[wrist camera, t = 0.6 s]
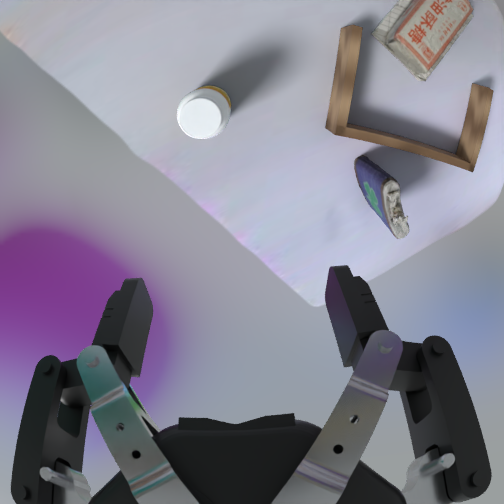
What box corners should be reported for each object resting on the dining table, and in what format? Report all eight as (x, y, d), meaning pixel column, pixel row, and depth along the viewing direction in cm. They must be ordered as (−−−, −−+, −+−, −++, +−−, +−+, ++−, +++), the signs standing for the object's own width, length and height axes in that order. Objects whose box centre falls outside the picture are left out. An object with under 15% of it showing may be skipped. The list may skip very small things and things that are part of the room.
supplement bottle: (189, 84, 30) (172, 89, 22) (233, 86, 31) (232, 92, 23) (185, 125, 33) (169, 144, 25) (228, 128, 34) (226, 148, 26)
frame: (341, 28, 26) (352, 24, 23) (476, 86, 29) (493, 90, 25) (325, 127, 34) (334, 134, 31) (458, 162, 37) (472, 172, 33)
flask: (384, 203, 41) (417, 243, 32) (368, 211, 42) (398, 253, 33) (366, 151, 36) (404, 181, 27) (348, 160, 37) (382, 192, 28)
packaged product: (437, 87, 26) (384, 31, 23) (417, 83, 30) (367, 34, 27) (487, 16, 18) (443, -37, 14) (467, 16, 22) (425, -32, 18)
